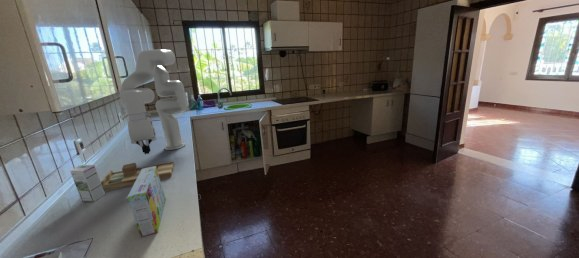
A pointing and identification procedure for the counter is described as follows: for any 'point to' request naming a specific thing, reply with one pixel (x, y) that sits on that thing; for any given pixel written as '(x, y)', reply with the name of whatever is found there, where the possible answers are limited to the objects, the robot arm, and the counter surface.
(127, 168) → the block
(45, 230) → the counter surface
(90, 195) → the syrup box
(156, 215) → the snack box
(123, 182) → the tray
